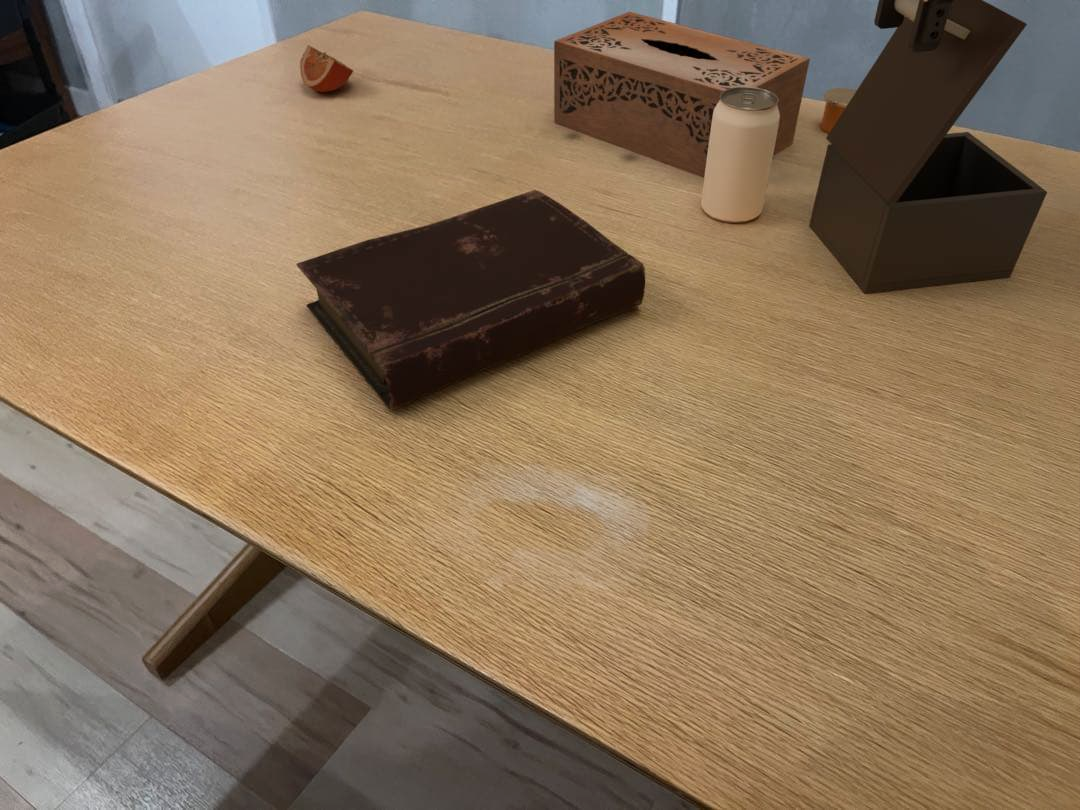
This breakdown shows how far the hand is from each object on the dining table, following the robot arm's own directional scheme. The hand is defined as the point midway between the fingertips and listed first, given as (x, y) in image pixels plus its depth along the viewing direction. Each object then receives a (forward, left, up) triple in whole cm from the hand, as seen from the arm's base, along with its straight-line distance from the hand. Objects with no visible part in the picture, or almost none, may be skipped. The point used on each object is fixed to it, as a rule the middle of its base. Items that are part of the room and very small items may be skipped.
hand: (904, 36), depth 66 cm
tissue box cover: (+9, -31, -21) cm, 38 cm away
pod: (-12, -28, -21) cm, 37 cm away
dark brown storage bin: (-6, 0, -21) cm, 22 cm away
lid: (-3, 0, -5) cm, 5 cm away
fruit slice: (+51, -54, -21) cm, 77 cm away
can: (+8, -11, -21) cm, 25 cm away
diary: (+37, +2, -21) cm, 42 cm away
